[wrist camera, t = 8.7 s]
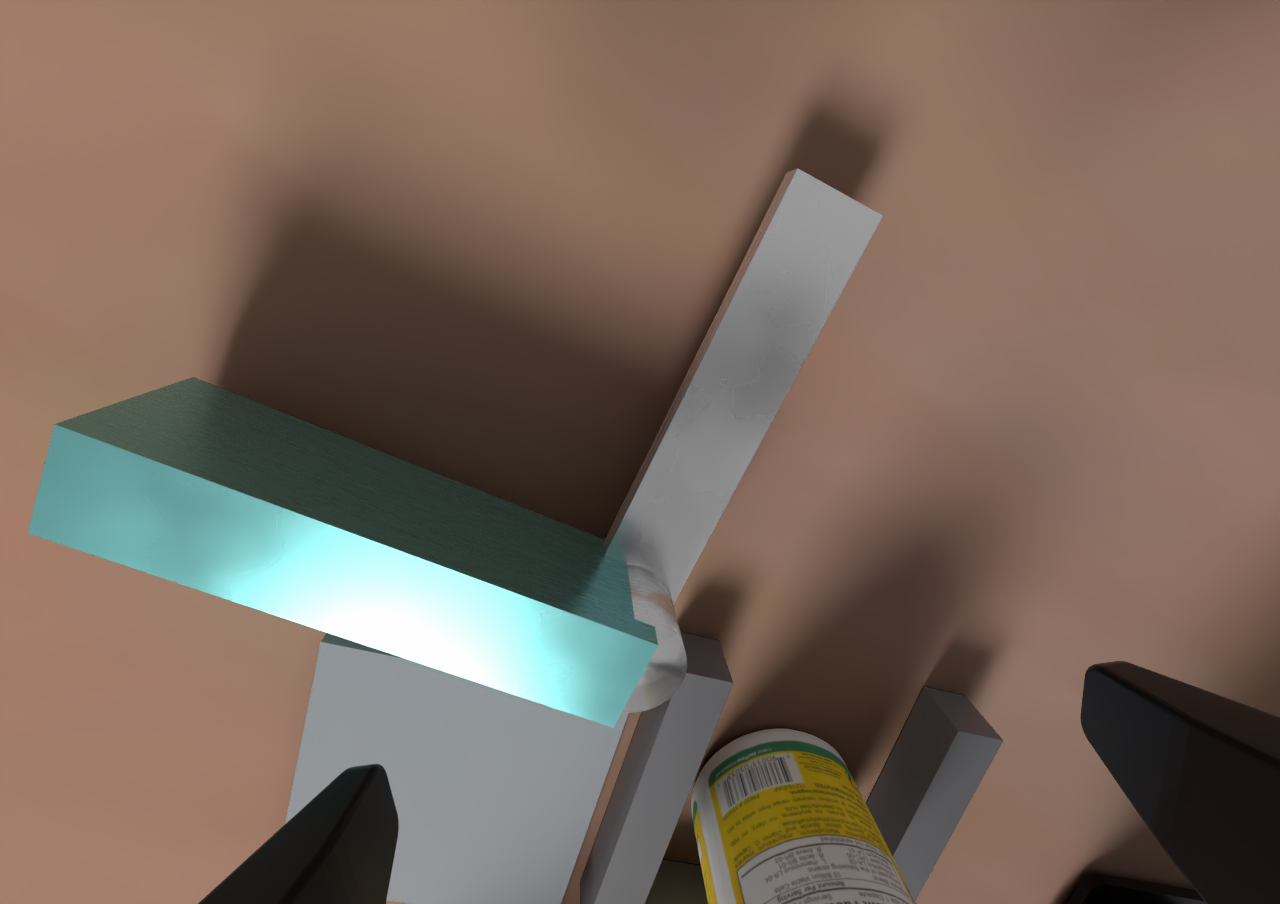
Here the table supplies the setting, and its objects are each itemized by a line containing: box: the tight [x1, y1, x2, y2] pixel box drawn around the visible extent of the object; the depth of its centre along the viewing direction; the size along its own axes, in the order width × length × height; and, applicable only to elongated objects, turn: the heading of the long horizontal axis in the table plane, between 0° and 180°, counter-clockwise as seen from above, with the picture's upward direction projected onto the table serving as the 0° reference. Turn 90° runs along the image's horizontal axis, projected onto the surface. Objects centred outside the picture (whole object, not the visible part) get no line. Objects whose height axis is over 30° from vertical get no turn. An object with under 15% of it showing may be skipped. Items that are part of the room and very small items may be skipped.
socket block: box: [580, 632, 1003, 904], centre depth 21 cm, size 10×10×2 cm
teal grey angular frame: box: [28, 168, 883, 728], centre depth 14 cm, size 12×13×5 cm
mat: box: [285, 634, 629, 904], centre depth 20 cm, size 9×9×1 cm
